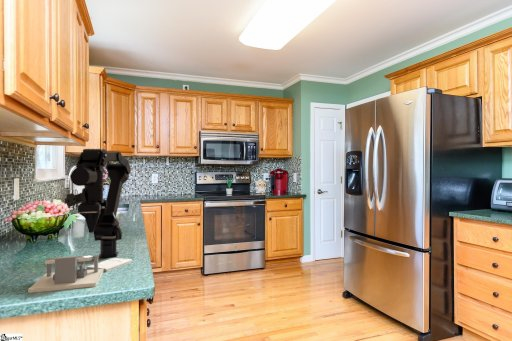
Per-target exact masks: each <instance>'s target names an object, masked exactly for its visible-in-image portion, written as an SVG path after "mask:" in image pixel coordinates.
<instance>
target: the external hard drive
mask: <svg viewBox="0 0 512 341" xmlns="http://www.w3.org/2000/svg"><path fill="white" fill-rule="evenodd" d="M130 263H131V264H132V263H133V259H131V258H121V257H111V258H110V259H107V260H103V261H100V262H98V269H104V272H103V273H108V272H110V271H113V270H116V269H118V268H121V267H123V266H125V265H128V264H130ZM85 269H87V270H93V269H94V264H92V265H88V266H87V267H86V266H85Z"/></svg>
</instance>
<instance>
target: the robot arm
mask: <svg viewBox="0 0 512 341" xmlns="http://www.w3.org/2000/svg"><path fill="white" fill-rule="evenodd" d="M111 162H113V163H111ZM115 162H116V163H115ZM117 162H118V163H117ZM104 166H105V169H106V171H107V175H108V178H109V180H110V182H109V187H108V191H107V195H106V199H105V198H104V191H105V187H104V172H105V169H104ZM131 169H132V167H131V166H130V162H129V160H128V159H127V158H125V157H124V156H123V155H122V152H121V151H119V150H112V151H110V150H109V151H107V149H104V148H83V150H82V151H81V152H80V155H79V158H78V160H77V163H76V166H75V169H73V170H72V171H71V174H70V176H69V177H70V180H71V181H70V182H71V183H72V184H74V185H75V186H77V187H82V186H84V187H83V188H82V190H81V193H78V194H74V192H71V193H68V194H66V198H64V203H65V204H66V206H67V208H71V207H73V206H76V205H77V213H78V214H79V215H81V216H82V217H83V218H84V219H85V224H86V227H87V231H88V233H90V234H93V238H94V241H95V242H96V241H100V243H99V244H100V246H99V247H100V248H99V250H100V251H99V254H98V259H102V258H117V256H118V255H119V251H117V250H118V249H117V247H118V246H117V244H118V243H117V241H119V240H122V239H123V232H122V229H121V227H120V222H119V219H118V217H117V212H118V208H119V204H120V199H121V194H122V189H123V185H124V184H125V183H126V182H127V181H128V179H129V176H130V175H131V173H132V172H131ZM78 204H79V205H78Z"/></svg>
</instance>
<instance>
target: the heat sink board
mask: <svg viewBox="0 0 512 341" xmlns="http://www.w3.org/2000/svg"><path fill="white" fill-rule="evenodd" d="M93 256H94V259H93V265H94V269H93V270H87V269H86V266H85V264H86V263H85V262H86V261H81V262H82V263H81V264H80V265H79V266H78V262H77V257H78V256H77V255H72V256H71V255H69V256H57V257H55V263H54V272H53V264H46V273H45V274H43V276H42V277H40V278H39V279H38V280H37V281H36V282H35V283H34V284H32V285H31V286H30V287H29V288H28V291H27V292H28V294H29V293H31V294H33V293H41V292H42V293H43V292H52V291H54V292H55V291H63V290H64V291H65V290H71V289H72V290H73V289H83V288H84V289H85V288H93V287H96V286H97V285H98V283H99V282H100V279H101V277H102V275H103V274H104V273H105V272H104V269H98V263H99V258H98V256H99V254H94V255H93ZM51 259H53V257H49V258H47V259H46V261H47V260H51Z"/></svg>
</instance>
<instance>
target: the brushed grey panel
mask: <svg viewBox="0 0 512 341" xmlns="http://www.w3.org/2000/svg"><path fill="white" fill-rule="evenodd" d="M55 258H56V257H55ZM55 258H53V257H52V259H51V260H47V259H46V260H44V265H47V264H52V265H53V264H54V265H55ZM89 261H94V255H85V256H84V255H83V256H77V263H79V262H89Z"/></svg>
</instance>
